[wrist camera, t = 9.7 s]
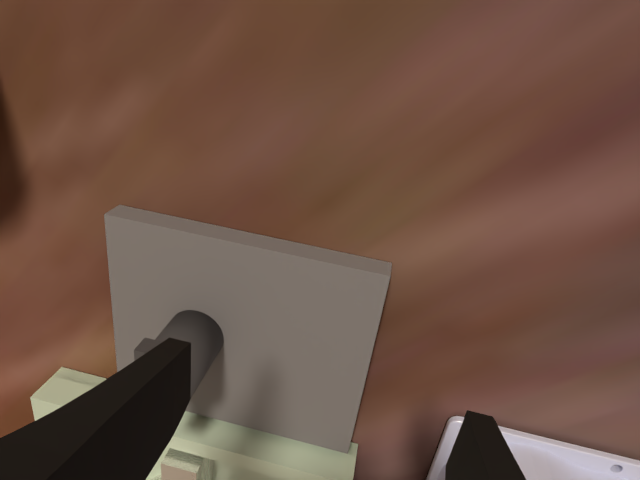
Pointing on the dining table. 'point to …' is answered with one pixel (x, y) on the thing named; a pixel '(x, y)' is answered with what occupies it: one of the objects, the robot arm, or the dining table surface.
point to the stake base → (249, 320)
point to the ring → (185, 467)
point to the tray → (219, 441)
